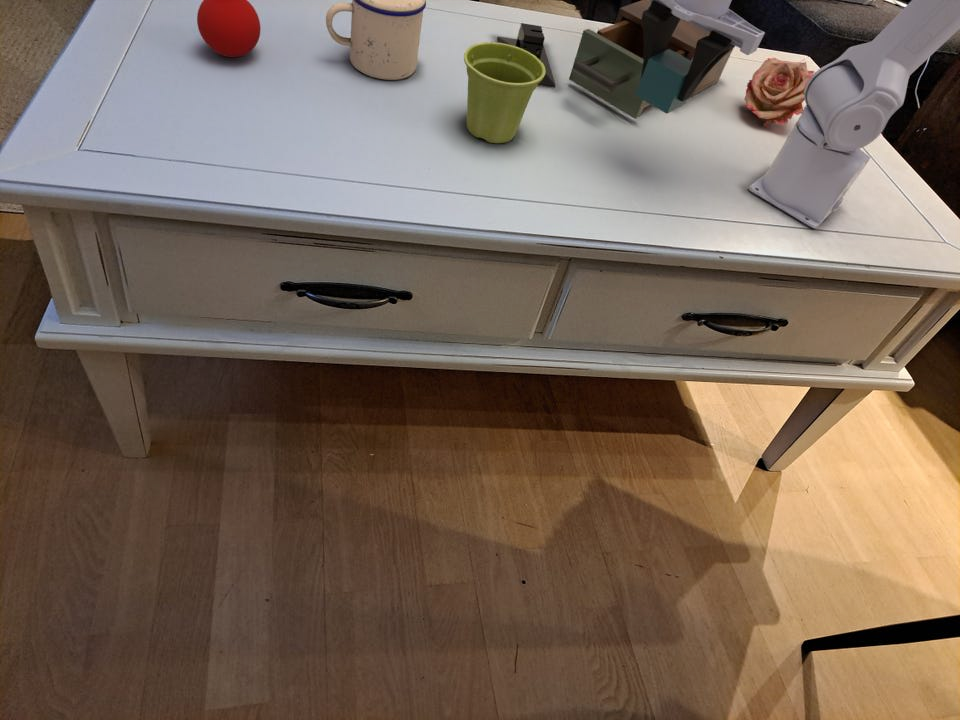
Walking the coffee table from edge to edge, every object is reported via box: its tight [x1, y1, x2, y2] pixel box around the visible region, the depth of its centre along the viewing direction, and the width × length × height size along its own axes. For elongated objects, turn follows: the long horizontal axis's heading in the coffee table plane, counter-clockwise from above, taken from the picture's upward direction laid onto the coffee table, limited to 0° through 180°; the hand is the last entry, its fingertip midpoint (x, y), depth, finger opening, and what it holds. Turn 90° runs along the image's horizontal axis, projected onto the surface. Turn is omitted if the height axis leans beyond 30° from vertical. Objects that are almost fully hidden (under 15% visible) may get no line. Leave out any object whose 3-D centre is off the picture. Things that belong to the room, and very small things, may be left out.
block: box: [635, 49, 692, 115], centre depth 77 cm, size 4×4×4 cm
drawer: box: [568, 19, 689, 120], centre depth 93 cm, size 18×11×7 cm, turn 138°
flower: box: [743, 57, 815, 128], centre depth 98 cm, size 10×9×8 cm
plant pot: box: [463, 41, 546, 144], centre depth 81 cm, size 9×9×9 cm
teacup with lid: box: [325, 0, 427, 81], centre depth 85 cm, size 12×9×12 cm
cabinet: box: [614, 0, 734, 98], centre depth 100 cm, size 15×13×9 cm
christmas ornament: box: [196, 0, 261, 58], centre depth 81 cm, size 7×7×10 cm
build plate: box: [496, 22, 557, 89], centre depth 96 cm, size 12×7×5 cm, turn 5°
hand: (665, 87), depth 77 cm, fingers closed on block, 4 cm apart
